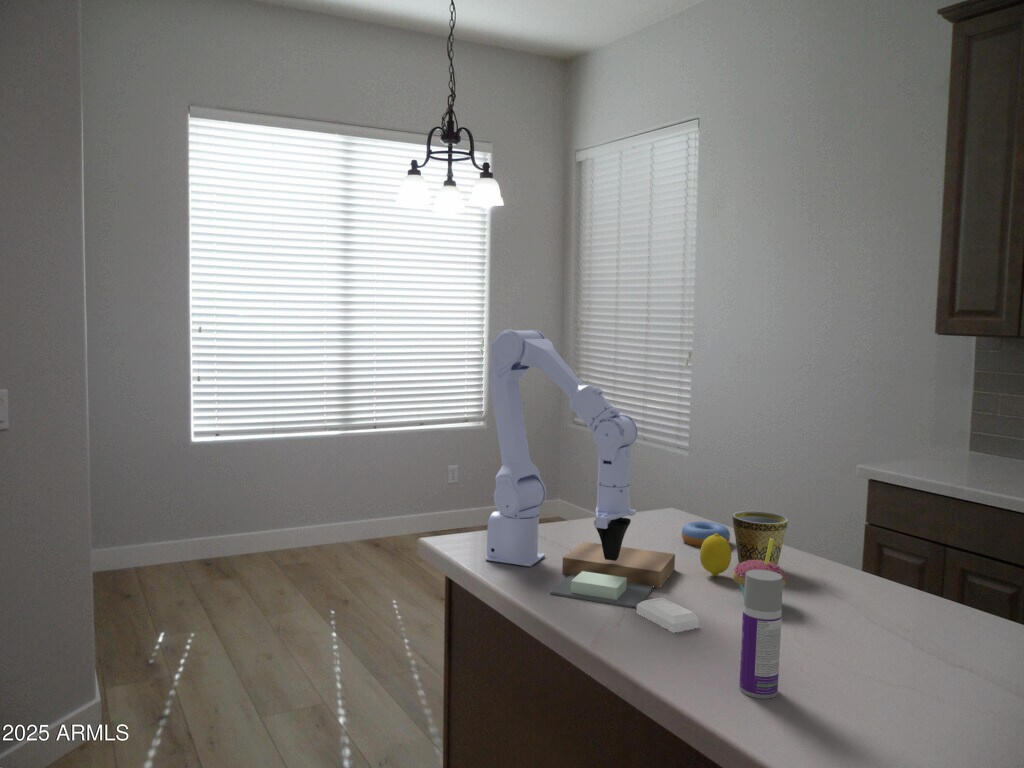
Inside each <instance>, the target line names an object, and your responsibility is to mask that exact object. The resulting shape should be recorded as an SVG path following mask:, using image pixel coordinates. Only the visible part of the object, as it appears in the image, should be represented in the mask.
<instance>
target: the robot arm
mask: <svg viewBox="0 0 1024 768" xmlns="http://www.w3.org/2000/svg"><path fill="white" fill-rule="evenodd" d="M490 350H491V356H492V357H491V362H490V367H489V372H488V379H489V386H490V391H491V398H492V405H493V406H492V407H493V411H494V412H493V413H494V418H495V426H496V432H497V438H498V445H499V447H498V448H499V453H500V460H501V464H502V465H501V467H500V469H499V470H498V472H497V474H496V476H495V478H494V480H495V489H494V494H493V500H494V505H495V507H496V511H495V510H494V511H492V512H491V514H490V516H489V518H488V521H487V528H486V531H487V533H486V556H485V557H484V559H485V560H486V561H489V562H490V561H492V562H496V563H503V564H509V565H518V566H524V567H532V566H533V565H534V564H535V565H536V563H538V562H539V561H540V560H542V559H543V558H544V557H546V553H543V552H538V551H539V545H538V544H539V522H540V521H539V519H540V518H539V517H540V515H539V513H540V512H541V506H543V504H544V503H545V501H546V499H547V488H546V485H545V483H544V482H543V480H542V478H541V474H540V470H539V468H538V467H537V466H536V465H535V464H534V463H533V462H532V461H531V455H530V449H529V443H528V437H527V429H526V423H525V422H526V421H525V416H524V409H523V408H524V407H523V403H522V396H521V390H520V384H519V381H520V379H521V378H523V376H524V375H525V373H526V372H527V371H528V370H529V369H531V368H535V369H540V370H542V372H543V373H544V374H545V375H546V376H547V377H548V378H549V379H551V381H553V383H554V384H556V385H557V386H558V387H559V389H561V390H562V391H563V392H564V393H565V395H567V396H568V397H569V398H568V399H569V403H568V404H569V408H570V409H571V410H572V411H573V412H574V414H576V415H577V417H579V419H580V421H582V422H583V423H584V424H585V426H586V427H587V428H588V429H589V430H590V431H591V432H592V438H593V439H592V440H593V441H594V445H595V446H596V447H597V451H598V452H597V456H598V462H597V464H598V466H597V467H598V469H597V493H596V498H597V499H596V507H595V515H596V516H595V518H594V523H593V524H594V527H595V529H596V531H597V533H598V536H599V538H600V542H601V543H600V544H602V548H603V553H604V558H605V559H606V560H613V561H616V560H617V559H618V557H619V553H620V549H621V547H622V544H623V540H624V537H625V534H626V532H627V529H628V528H629V526H630V524H631V521H632V520H631V518H627V516H628V517H630V516H635V515H636V513H637V510H636V509H632V508H630V502H631V501H630V498H631V497H630V495H631V494H630V492H631V491H630V490H631V473H632V472H631V469H632V445H633V444H634V443H635V441H636V440H637V437H638V428H637V425H636V423H635V421H634V419H633V418H632V417H631V416H629V415H628V414H620V412H621V411H620V410H619V409H618V407H614V406H613V405H612V404H611V403H610V402H609V401H608V399H607V398H606V397H605V396H604V395H603V393H604V391H603V390H602V389H601V388H600V387H597V386H596V387H595V386H594V385H592V384H584V383H583V382H582V381H581V380H580V379H579V377H578V376H577V375H576V373H574V371H573V370H572V369H571V368H570V366H569V365H568V364H567V362H566V361H564V359H563V358H562V357H561V355H560V354H559V353H558V352H557V351H556V350H555V348H554V344H553V342H552V341H551V340H550V339H548V338H546V336H545V335H544V333H543V332H542V331H540V330H537V329H529V330H512V329H505V330H502V331H501V332H499V333H498V335H496V337H495V338H494V340H493V342H491V344H490Z"/></svg>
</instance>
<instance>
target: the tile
mask: <svg viewBox="0 0 1024 768" xmlns="http://www.w3.org/2000/svg"><path fill="white" fill-rule="evenodd" d="M626 585H627V578H625V577H618V576H612V575H605V574H598V573H591V572H585V571H582V572H581V573H580V574H578V575H577V576H576V577H575V578H574V579H573V580H572V581H571V593H577V594H583V595H590V596H596V597H602V598H608V599H614V600H617V599H618V598H619V597H620V596H621V595H622V593H623V592H624V591H625V590H626Z"/></svg>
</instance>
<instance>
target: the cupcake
mask: <svg viewBox="0 0 1024 768" xmlns="http://www.w3.org/2000/svg"><path fill="white" fill-rule="evenodd" d="M773 536H774V535H772V538H770V539H769V544H768V549H767V554H766V559H765V561H762V560H755V559H754V560H746V561H744V562H742V563H740V564H739V563H737V565H736V567H735V568H734V569H733V570H734V571H733V574H732V579H733V580H734V582H736V583H737V584H739V587H740V591H741V593H742V596H743V597H742V598H743V599H744V589H745V576H746V572H747V571H749V570H768V571H773V572H776V573H778V574H780V575H782V588H784V587H786V584H787V581H788V575H787V574H786V572H785V571H784V570H783V568H782V567H780V566H779V565H776V564H775V563H772V562H771V561H769V560H770V555H771V550H772V545H773V541H774V539H773Z"/></svg>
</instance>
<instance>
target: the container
mask: <svg viewBox="0 0 1024 768" xmlns="http://www.w3.org/2000/svg"><path fill="white" fill-rule="evenodd" d="M782 607H783V587H782V575H780V574H778V573H776V572H773V571H768V570H749V571H747V572H746V576H745V589H744V598H743V604H742V621H741V623H742V624H741V638H740V639H741V640H740V641H741V643H740V644H741V645H740V661H739V662H740V664H739V690H740V691H741V693H743V694H744V695H746V696H748V697H751V698H755V699H763V700H764V699H766V700H767V699H769V700H770V699H773V698H775V697H776V696H778V689H779V675H780V674H779V671H780V657H781V656H780V653H781V652H780V651H781V634H782V616H783V615H782V611H783V609H782Z"/></svg>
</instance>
